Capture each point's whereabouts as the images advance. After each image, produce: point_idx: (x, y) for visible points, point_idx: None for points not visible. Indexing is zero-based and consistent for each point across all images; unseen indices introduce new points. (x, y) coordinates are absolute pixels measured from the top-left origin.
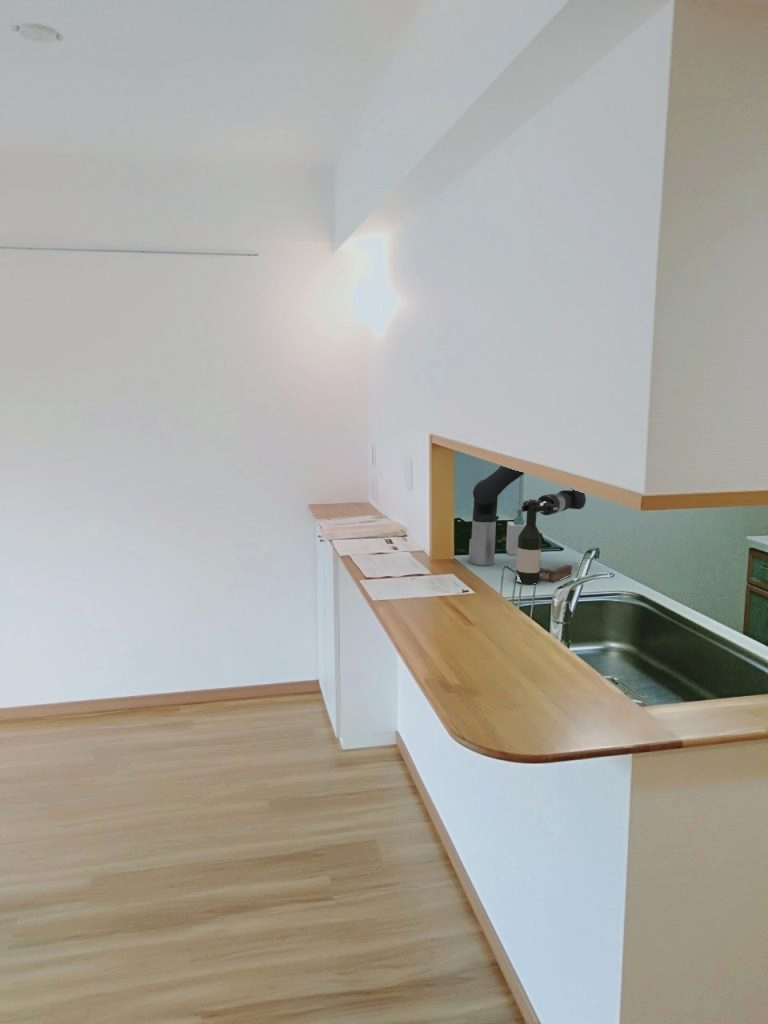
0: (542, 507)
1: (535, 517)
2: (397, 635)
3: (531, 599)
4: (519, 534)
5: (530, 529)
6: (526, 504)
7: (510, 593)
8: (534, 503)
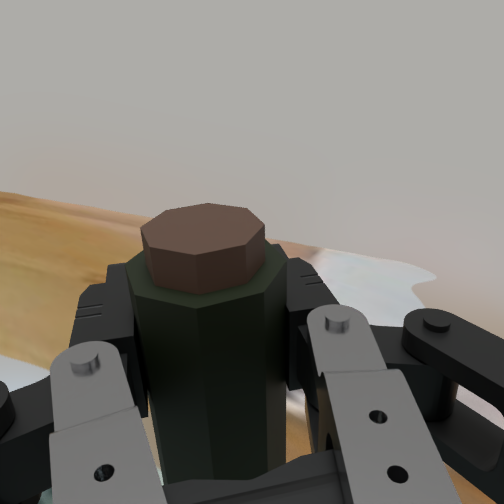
0: (36, 388)
1: (159, 454)
2: (150, 218)
3: (50, 491)
4: None
5: None
6: (301, 285)
7: (161, 484)
8: (142, 260)
